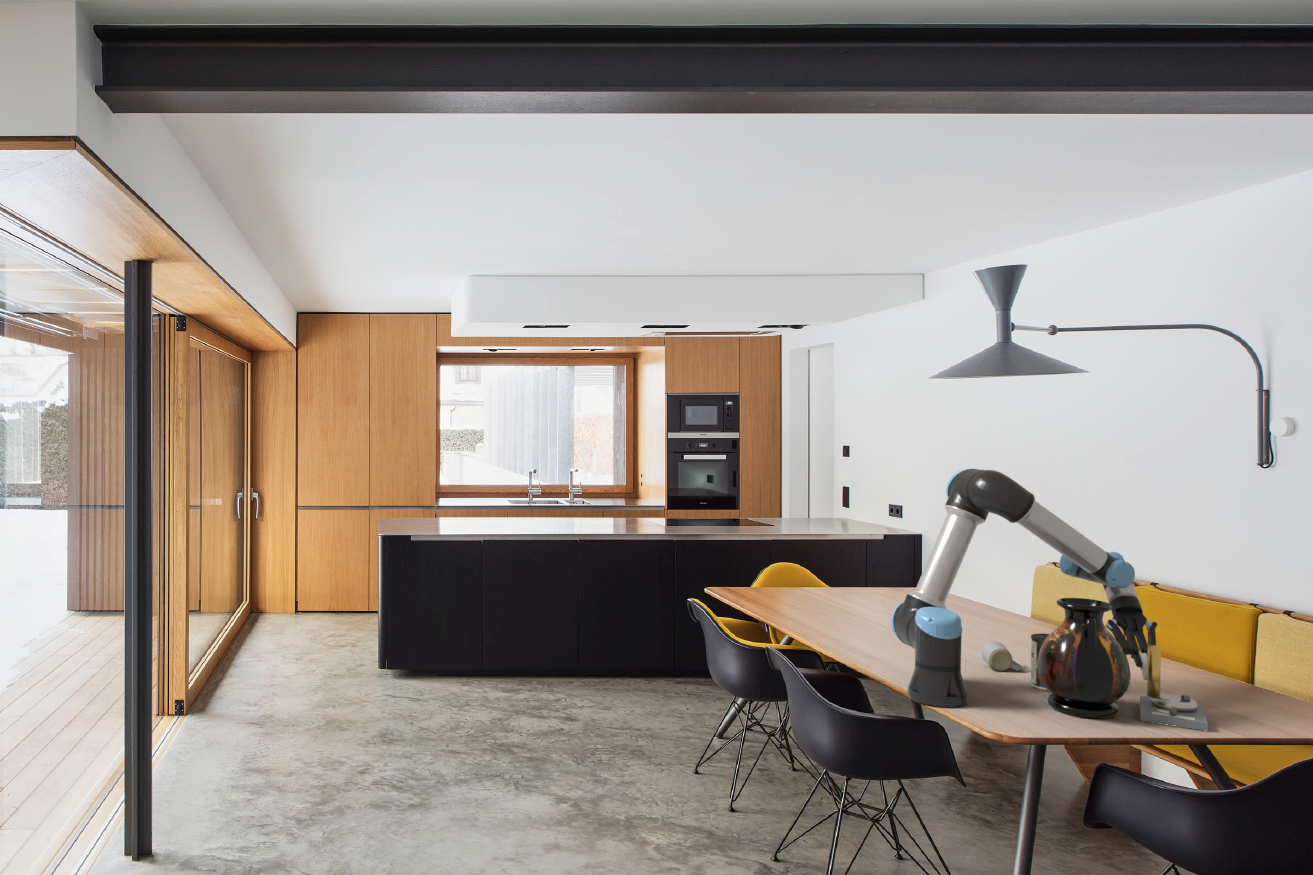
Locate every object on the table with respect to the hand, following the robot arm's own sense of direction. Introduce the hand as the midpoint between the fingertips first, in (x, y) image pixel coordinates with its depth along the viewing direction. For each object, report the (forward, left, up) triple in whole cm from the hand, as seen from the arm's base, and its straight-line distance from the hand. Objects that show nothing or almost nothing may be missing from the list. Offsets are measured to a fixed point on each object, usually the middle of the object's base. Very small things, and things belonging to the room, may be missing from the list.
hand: (1148, 677), depth 217 cm
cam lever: (-3, -5, -6) cm, 8 cm away
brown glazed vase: (-12, +15, -8) cm, 21 cm away
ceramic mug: (+21, +38, -8) cm, 45 cm away
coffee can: (+7, +24, -8) cm, 26 cm away
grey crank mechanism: (-5, -5, -8) cm, 11 cm away
